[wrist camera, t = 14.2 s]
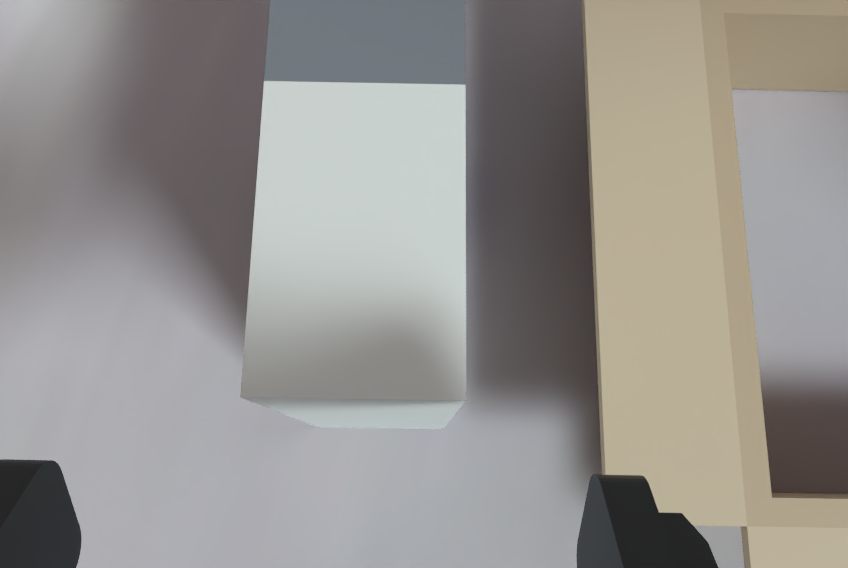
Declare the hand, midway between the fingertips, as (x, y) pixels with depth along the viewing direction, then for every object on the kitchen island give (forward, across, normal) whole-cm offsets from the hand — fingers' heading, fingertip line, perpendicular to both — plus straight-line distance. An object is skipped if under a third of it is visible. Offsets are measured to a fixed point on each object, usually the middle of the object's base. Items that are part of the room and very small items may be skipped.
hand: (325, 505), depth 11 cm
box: (+16, 0, +5) cm, 17 cm away
